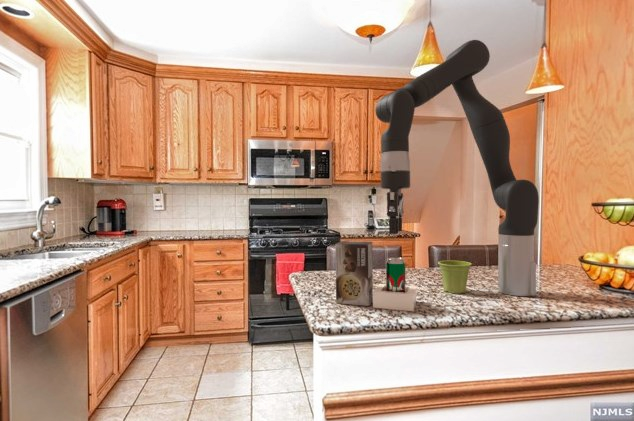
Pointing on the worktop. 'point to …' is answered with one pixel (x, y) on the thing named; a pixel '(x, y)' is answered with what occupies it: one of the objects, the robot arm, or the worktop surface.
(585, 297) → the worktop surface
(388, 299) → the holder
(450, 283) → the plant pot
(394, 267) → the soda can
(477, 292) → the worktop surface
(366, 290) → the coffee box
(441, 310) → the worktop surface
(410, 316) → the worktop surface
